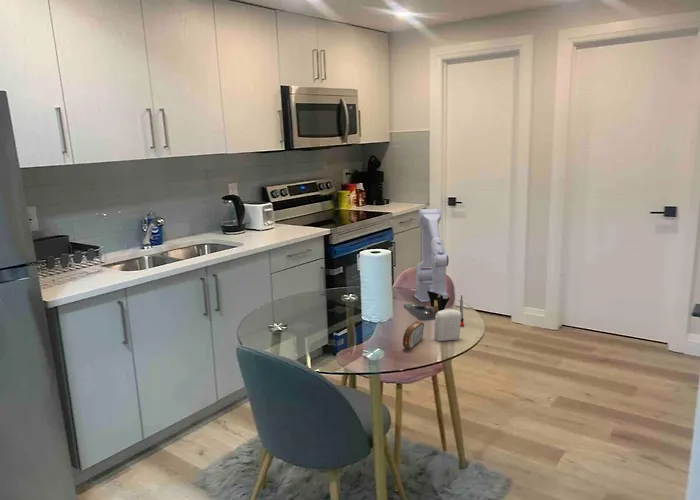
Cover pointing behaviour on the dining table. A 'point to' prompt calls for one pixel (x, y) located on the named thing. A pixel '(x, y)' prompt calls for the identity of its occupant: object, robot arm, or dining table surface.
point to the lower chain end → (411, 306)
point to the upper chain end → (423, 312)
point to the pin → (436, 306)
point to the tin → (413, 334)
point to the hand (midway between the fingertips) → (437, 308)
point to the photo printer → (447, 325)
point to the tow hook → (461, 310)
